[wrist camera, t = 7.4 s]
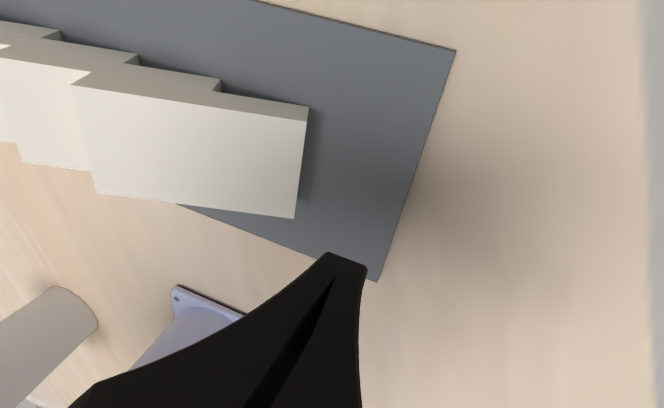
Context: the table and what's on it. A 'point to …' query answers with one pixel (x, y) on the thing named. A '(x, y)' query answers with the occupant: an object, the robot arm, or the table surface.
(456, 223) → the table surface
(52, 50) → the domino
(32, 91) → the domino
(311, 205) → the felt mat
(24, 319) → the drinking glass
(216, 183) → the domino
